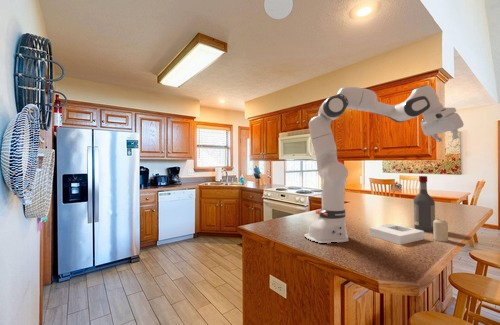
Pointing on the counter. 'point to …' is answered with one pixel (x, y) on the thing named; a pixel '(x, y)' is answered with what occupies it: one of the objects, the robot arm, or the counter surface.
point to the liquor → (424, 208)
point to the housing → (397, 233)
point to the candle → (440, 230)
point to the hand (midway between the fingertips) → (447, 140)
